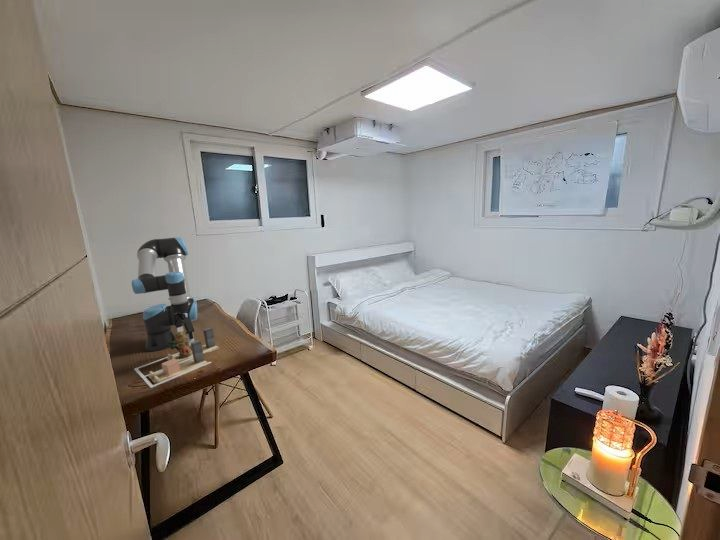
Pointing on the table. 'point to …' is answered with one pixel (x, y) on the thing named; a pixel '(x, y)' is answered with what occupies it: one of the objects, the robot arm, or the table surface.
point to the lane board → (162, 370)
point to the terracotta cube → (171, 367)
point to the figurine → (181, 345)
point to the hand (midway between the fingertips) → (186, 341)
